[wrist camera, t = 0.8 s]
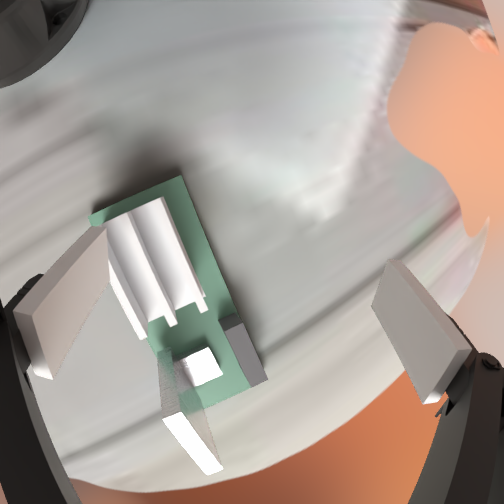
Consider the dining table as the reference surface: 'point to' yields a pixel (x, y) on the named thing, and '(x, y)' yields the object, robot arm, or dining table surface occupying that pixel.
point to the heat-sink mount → (176, 285)
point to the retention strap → (189, 401)
